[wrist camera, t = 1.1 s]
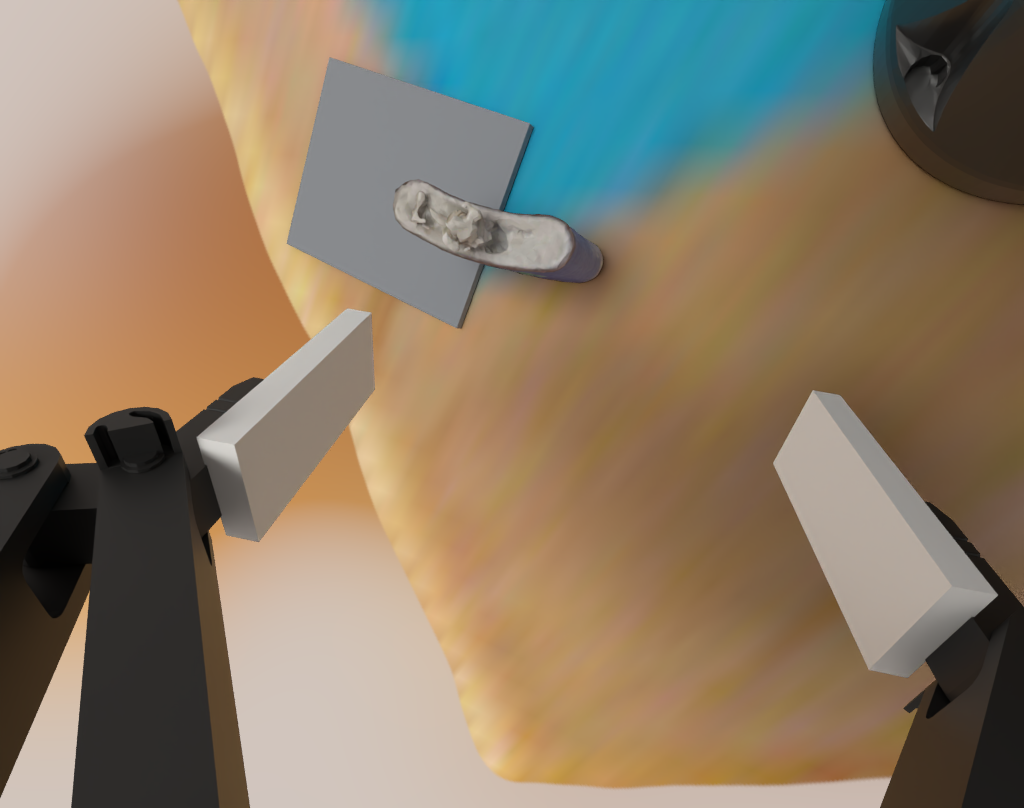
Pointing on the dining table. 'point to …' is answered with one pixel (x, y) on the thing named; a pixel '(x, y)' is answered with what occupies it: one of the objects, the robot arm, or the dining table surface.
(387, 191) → the mat
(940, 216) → the dining table surface
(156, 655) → the robot arm
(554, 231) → the flask
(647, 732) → the dining table surface
